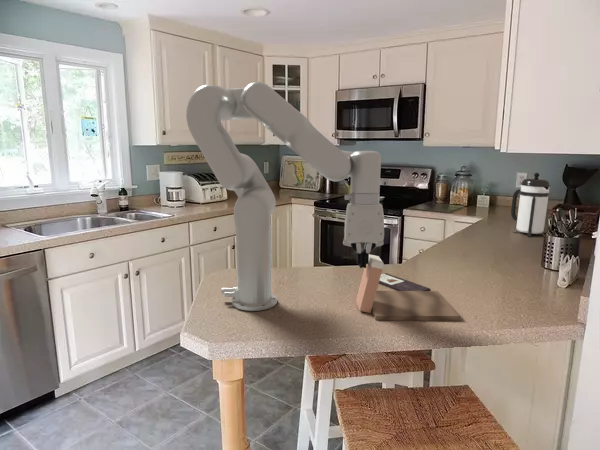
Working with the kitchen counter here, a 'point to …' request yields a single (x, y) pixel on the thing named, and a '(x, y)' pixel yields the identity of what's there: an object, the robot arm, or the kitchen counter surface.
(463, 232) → the kitchen counter surface
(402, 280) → the chocolate bar
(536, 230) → the coffee press
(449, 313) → the board
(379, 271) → the slab
